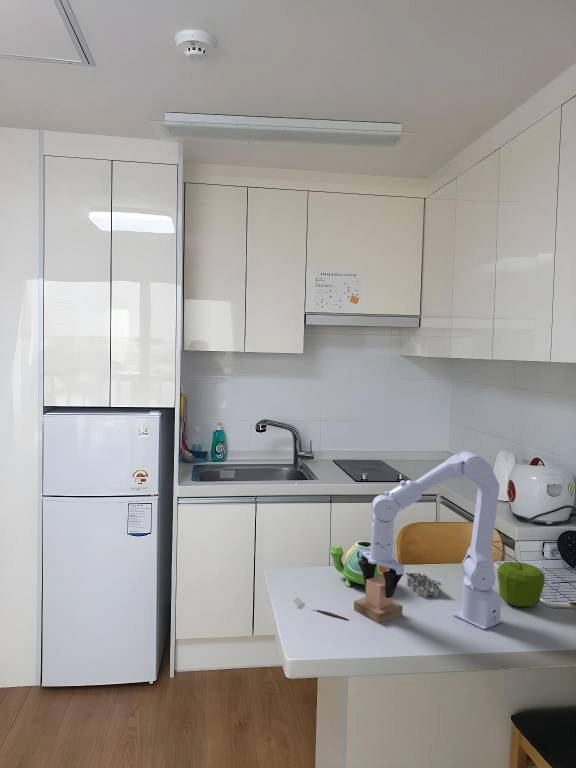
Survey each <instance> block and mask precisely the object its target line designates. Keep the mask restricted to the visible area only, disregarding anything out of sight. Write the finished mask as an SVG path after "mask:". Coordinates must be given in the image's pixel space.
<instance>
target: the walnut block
mask: <svg viewBox="0 0 576 768" xmlns="http://www.w3.org/2000/svg"><path fill="white" fill-rule="evenodd" d="M403 608H404V606H403V605H401V604H400V603H398V602H396V601H395V600H392V605H389V606H386V607H383V608H380V609H378V608H376V607H374V606H372V605H371V604H369V603H367V602H365V597H362V598H359V599H357V600H356V599H355V600H354V601H353V611H355V612H356V613H358V614H360V615H362V616H364V617H365V618H367V619H369V620H371V621H373V622H374V623H376V624H381V623H385V622H388V621H391V620H393V619H395V618H398V617H401V616H403V610H404V609H403Z"/></svg>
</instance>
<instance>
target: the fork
mask: <svg viewBox="0 0 576 768" xmlns="http://www.w3.org/2000/svg"><path fill="white" fill-rule="evenodd" d="M292 601H293V602H294V603H295V604H296V605H297V607H299V608H300V609H301V610H303V609H304V608H305V607H304V606H305V605H306V604H305V603H304V602H303V601H302V600H301V599H300V598H299V597H298V596H297V597H295V599H294V600H292ZM302 608H303V609H302ZM309 611H314V612H317V613H320V614H323V615H326V616H329V617H332V618H335V619H336V618H338V619H341V620H344V621H350V619H349V618H347V617H344V616H340V615H339V614H335V613H334V612H333V613H332V612H329V611H325V610H320V609H315V608H313V607H312V608H310V609H309Z"/></svg>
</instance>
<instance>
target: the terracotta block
mask: <svg viewBox="0 0 576 768" xmlns="http://www.w3.org/2000/svg"><path fill="white" fill-rule="evenodd" d="M393 597H394V596H393ZM393 597H391V598H386V595H385V579H384V578H383V577H381V576H378V577H374V578H371V579H367V580H366V589H365V597H364V598H365V602H367V603H369V604H371V605H372V606H374V607H376V608H378V609H380V608H383V607H386V606H389V605H392V601H393V600H394V599H393Z"/></svg>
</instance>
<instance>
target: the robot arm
mask: <svg viewBox="0 0 576 768" xmlns="http://www.w3.org/2000/svg"><path fill="white" fill-rule="evenodd" d="M463 475H464V476H465V477H466V478H467V479H468V480H470V481H471V482H472V483H473V484H474V485H475V487H476V488H477V493H476V501H475V510H474V517H473V525H472V526H473V527H472V533H471V542H470V546H469V547H468V548H467V551H466V555H465V557H464V559H463V560H462V562H461V569H462V572H463V574H464V578H463V580H462V594H461V606H460V607H461V609H460V610H459V611H457V612H454V613H453V616H455V617H457V618H459V619H461V620H462V621H465V622H468V623H469V624H472V625H474V626H476V627H478V628H480V629H482V630H487V629H489V628H491V627H493V626H496V625H497V624H500V623H502V622H503V621H502V619H501V612H502V611H501V610H502V598H501V596H500V593H499V592H497V591H495V590H494V588H493V586H494V585H495V583H496V579H497V578H496V574H495V572H494V559H493V554H492V547H493V541H494V533H495V532H494V531H495V526H496V525H495V524H496V518H497V517H496V516H497V510H498V509H497V507H498V502H499V494H500V483H499V481H498V479H497V476H496V474H495V472H494V470H493V466H492V465H491V464H490V463H489V462H488V461H487V460H486V459H485V458H483V457H482V456H479V455H478V454H476V453H475V452H474V451H472V450H469V449H465V450H462V451H460V452H458V453H457V454H454V455H451V456H450V457H449V458H447V459H446V460H444V461H443V462H442V463H440V464H439V465H437V466H436V467H434V468H433V469H431V470H429V472H427V473H425V474H424V475H423V476H421V477H420V478H418V479H416V480H411V479H408V480H406V481H405V480H404V479H403V480H401V481H400V482H399V485H397V486H395V487H394V488H392V489H391V490H387V491H386V490H385V491H384V494H379V495H377V496H375V498H373V500H372V503H371V506H370V507H371V509H372V511H373V515H372V522H371V534H370V535H371V537H370V542H371V546H370V548H371V551H369V550H366V549H362V550H359V557H360V558H362V560H360V561H358V564H359V566H360V568H361V570H362V573H363V576H364V581H365V586H366V580H367V579H371V578H374V573H375V568H376V565H377V564H378V565H381V566H383V567H385V568H387V569H389V571H386V572H383V575H384V579H385V595H386V598H391V597H394V594H395V591H396V589H397V585H398V584H399V582H400V580H401V579H402V578H403V575H404V574H405V565H402V564H401V563H399V562H398V561H397V560H395V559H394V558H393V547H394V532H395V531H394V530H395V525H394V522H395V518H396V517H397V515H398V512H401V511H403V510H405V509H406V508H407V507H409V506H411V505H413V504H414V503H416V502H418V501H420V500H421V498H422V495H423V494H424V492H426V491H427V490H430V489H431V488H433V487H434V486H437V485H438V484H440V483H442V482H444V481H447V480H449V479H458V480H459V479H461V480H463V479H464V476H463ZM365 586H364V587H365Z"/></svg>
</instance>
